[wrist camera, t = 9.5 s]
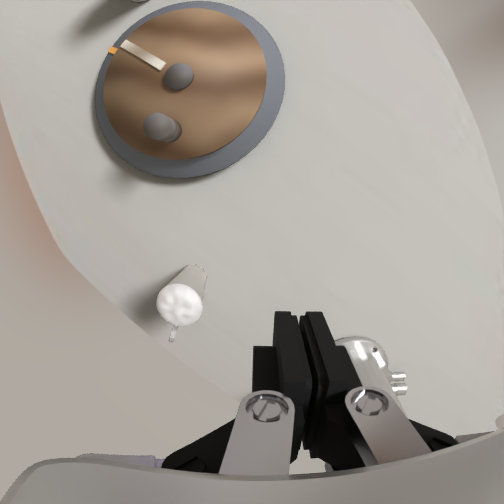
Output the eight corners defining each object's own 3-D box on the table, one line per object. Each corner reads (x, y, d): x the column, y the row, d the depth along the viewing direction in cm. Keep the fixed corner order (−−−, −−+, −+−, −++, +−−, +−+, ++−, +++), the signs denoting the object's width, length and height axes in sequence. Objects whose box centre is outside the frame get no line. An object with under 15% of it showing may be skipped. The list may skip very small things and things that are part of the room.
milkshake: (172, 295, 38) (148, 335, 28) (178, 254, 36) (153, 286, 27) (207, 303, 38) (193, 347, 28) (216, 263, 36) (202, 298, 27)
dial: (126, 16, 26) (105, -5, 20) (276, 19, 27) (280, -8, 21) (99, 154, 31) (69, 154, 25) (253, 169, 32) (252, 169, 26)
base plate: (291, 12, 28) (293, 6, 26) (272, 186, 34) (273, 187, 32) (118, 13, 27) (113, 7, 26) (92, 173, 33) (85, 174, 32)
